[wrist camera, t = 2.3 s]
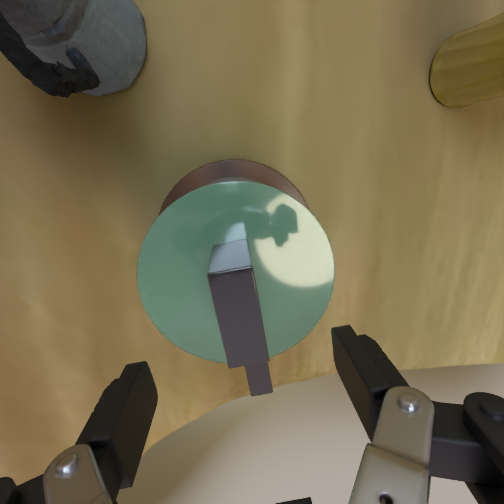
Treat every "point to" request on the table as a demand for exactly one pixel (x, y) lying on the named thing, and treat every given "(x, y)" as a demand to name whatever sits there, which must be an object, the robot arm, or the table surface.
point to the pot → (236, 274)
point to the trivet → (232, 170)
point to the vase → (470, 65)
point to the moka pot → (74, 43)
